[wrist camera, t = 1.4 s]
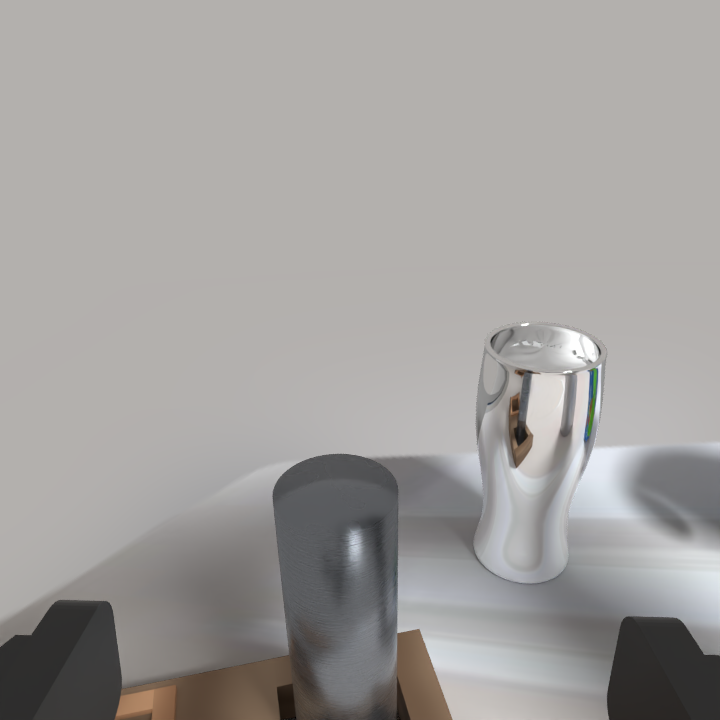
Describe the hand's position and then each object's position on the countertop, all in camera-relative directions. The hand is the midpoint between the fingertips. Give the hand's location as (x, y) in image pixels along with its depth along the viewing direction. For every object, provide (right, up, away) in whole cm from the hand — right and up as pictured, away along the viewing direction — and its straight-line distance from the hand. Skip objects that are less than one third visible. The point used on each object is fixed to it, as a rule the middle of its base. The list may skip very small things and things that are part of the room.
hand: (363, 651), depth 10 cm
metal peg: (-1, -14, +19) cm, 24 cm away
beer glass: (+10, -8, +32) cm, 34 cm away
